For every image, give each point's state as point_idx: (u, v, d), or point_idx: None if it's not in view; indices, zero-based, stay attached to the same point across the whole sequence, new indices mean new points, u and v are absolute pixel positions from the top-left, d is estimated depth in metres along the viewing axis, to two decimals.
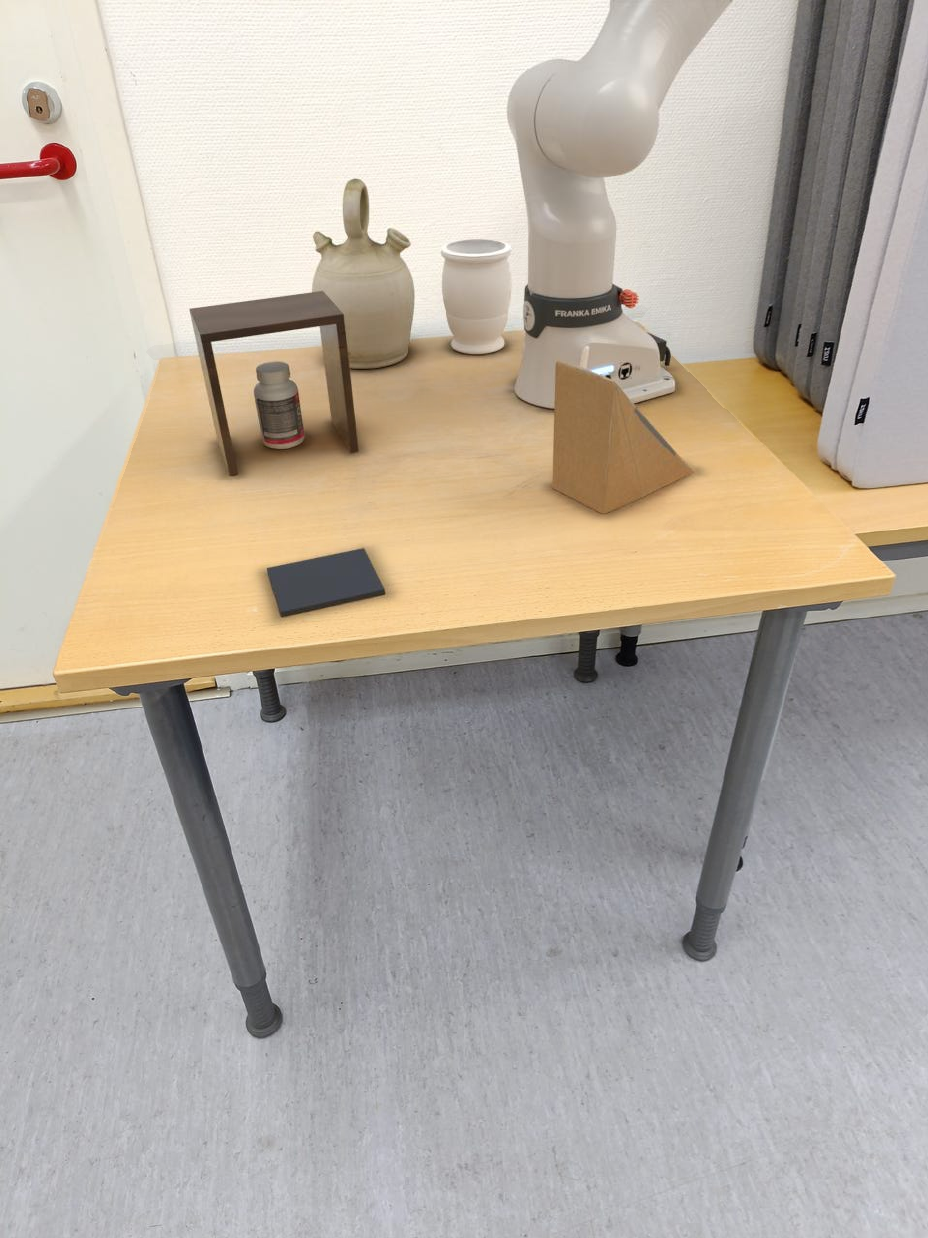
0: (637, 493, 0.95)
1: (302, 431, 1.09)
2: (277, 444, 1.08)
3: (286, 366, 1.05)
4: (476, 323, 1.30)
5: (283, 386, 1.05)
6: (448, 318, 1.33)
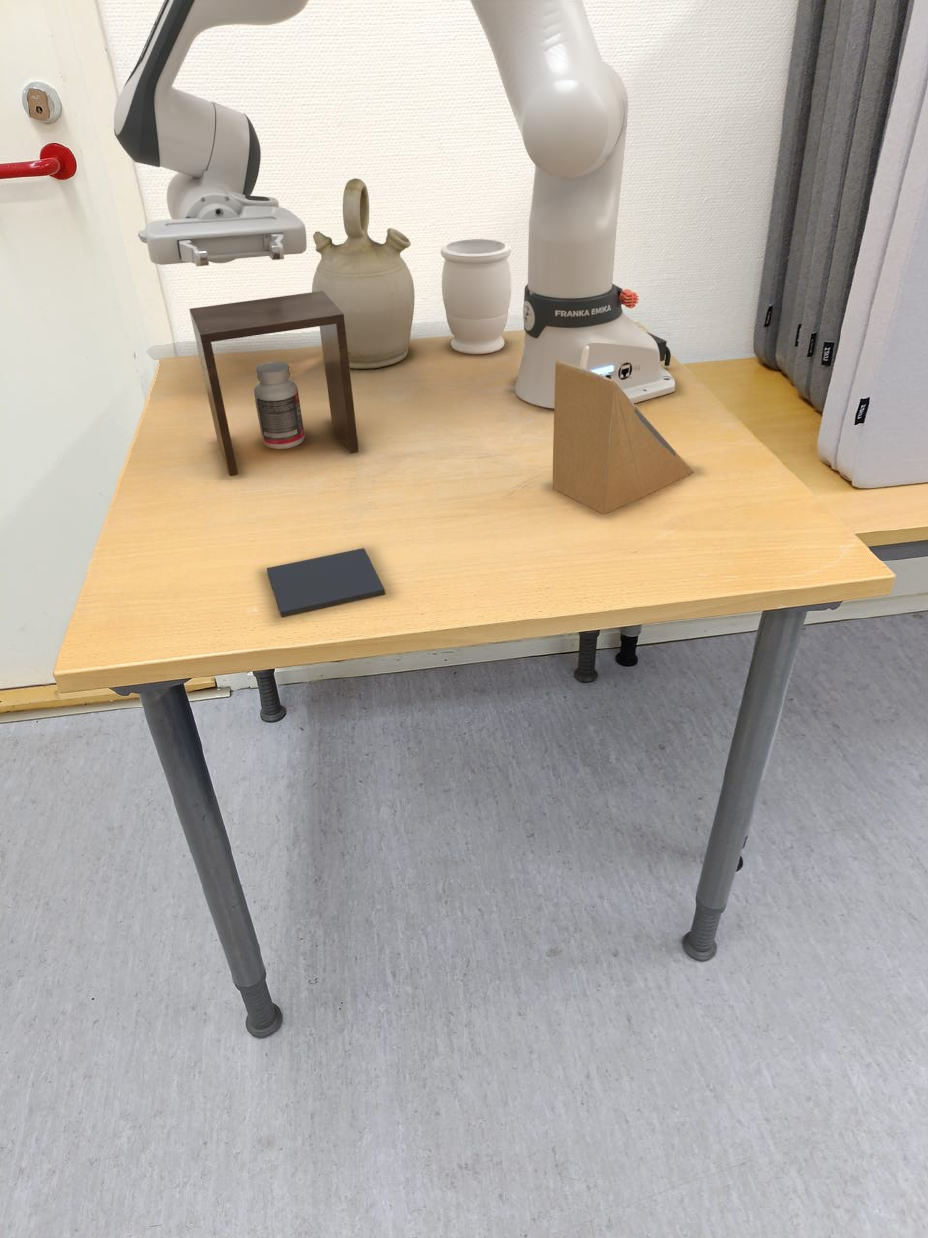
0: (637, 493, 0.95)
1: (302, 431, 1.09)
2: (277, 444, 1.08)
3: (286, 366, 1.05)
4: (476, 323, 1.30)
5: (283, 386, 1.05)
6: (448, 318, 1.33)
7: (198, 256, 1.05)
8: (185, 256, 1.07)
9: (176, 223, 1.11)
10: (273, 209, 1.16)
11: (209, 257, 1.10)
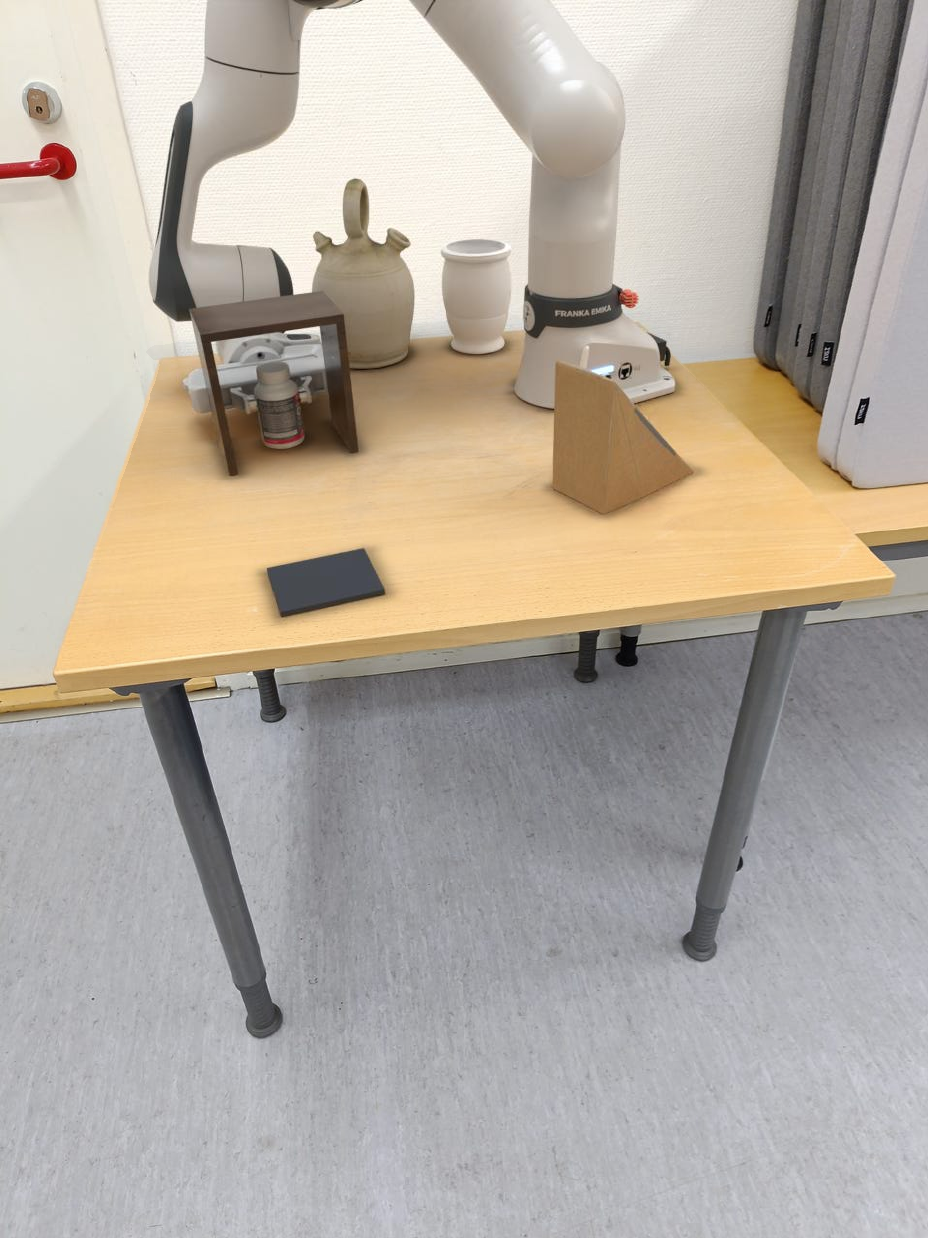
0: (637, 493, 0.95)
1: (302, 431, 1.09)
2: (277, 444, 1.08)
3: (286, 366, 1.05)
4: (476, 323, 1.30)
5: (283, 386, 1.05)
6: (448, 318, 1.33)
7: (247, 405, 1.05)
8: (236, 403, 1.08)
9: (218, 370, 1.12)
10: (314, 347, 1.15)
11: None
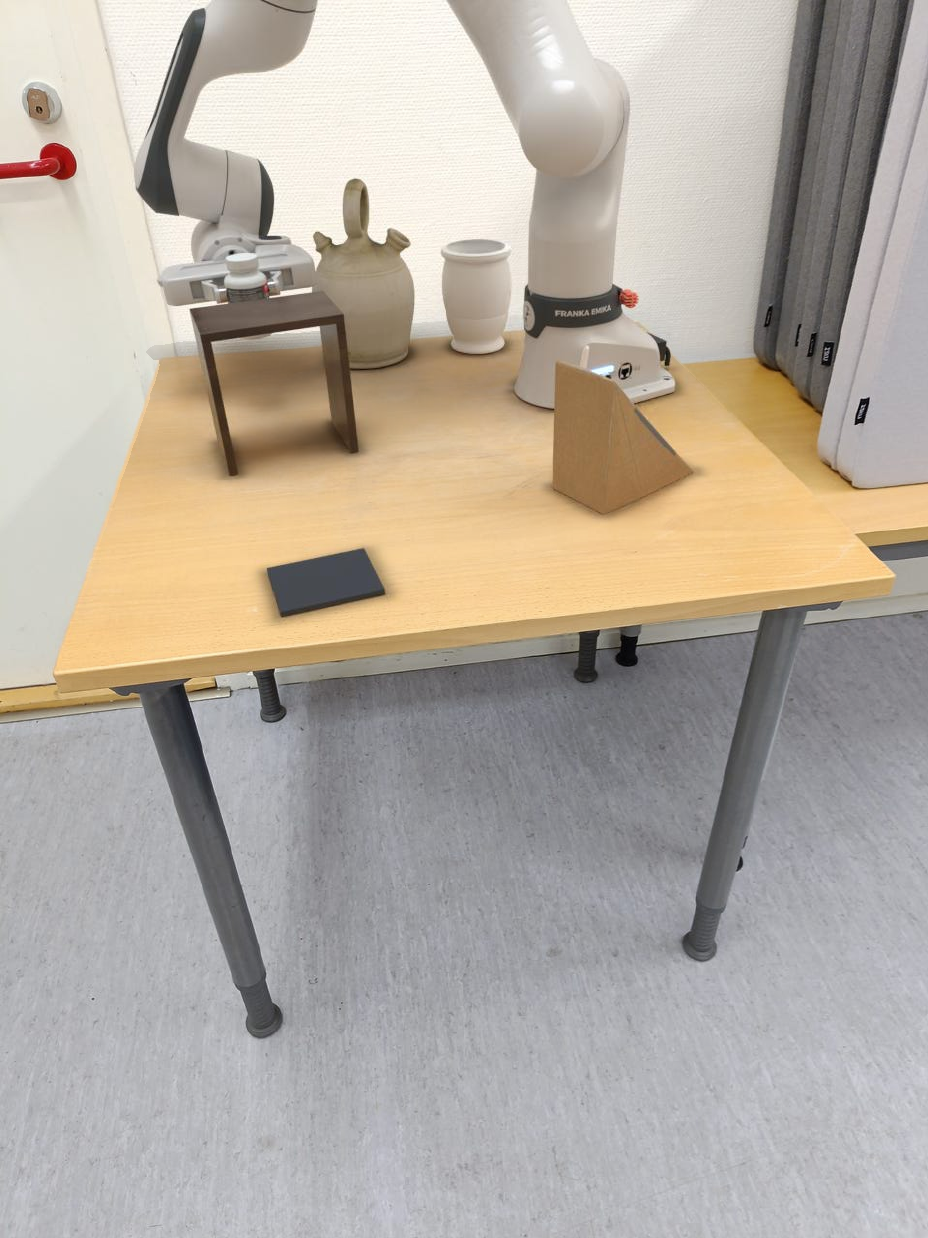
0: (637, 493, 0.95)
1: None
2: None
3: (255, 256, 1.09)
4: (476, 323, 1.30)
5: (252, 275, 1.09)
6: (448, 318, 1.33)
7: (218, 294, 1.09)
8: (207, 295, 1.12)
9: (191, 266, 1.16)
10: (285, 247, 1.19)
11: None
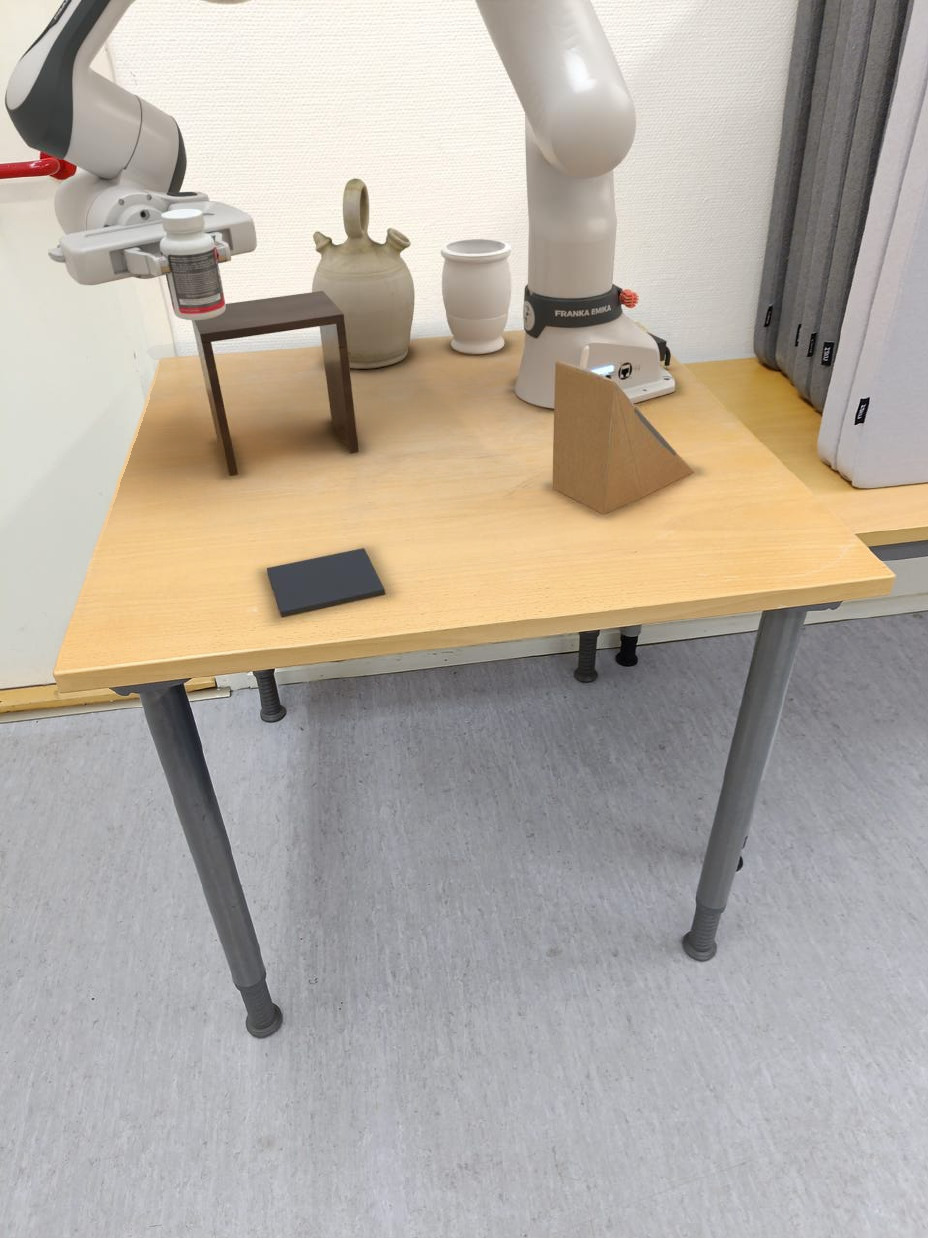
0: (637, 493, 0.95)
1: None
2: (199, 313, 0.88)
3: (200, 211, 0.85)
4: (476, 323, 1.30)
5: (200, 236, 0.85)
6: (448, 318, 1.33)
7: (158, 263, 0.85)
8: (137, 267, 0.86)
9: (96, 233, 0.89)
10: (206, 204, 0.96)
11: None
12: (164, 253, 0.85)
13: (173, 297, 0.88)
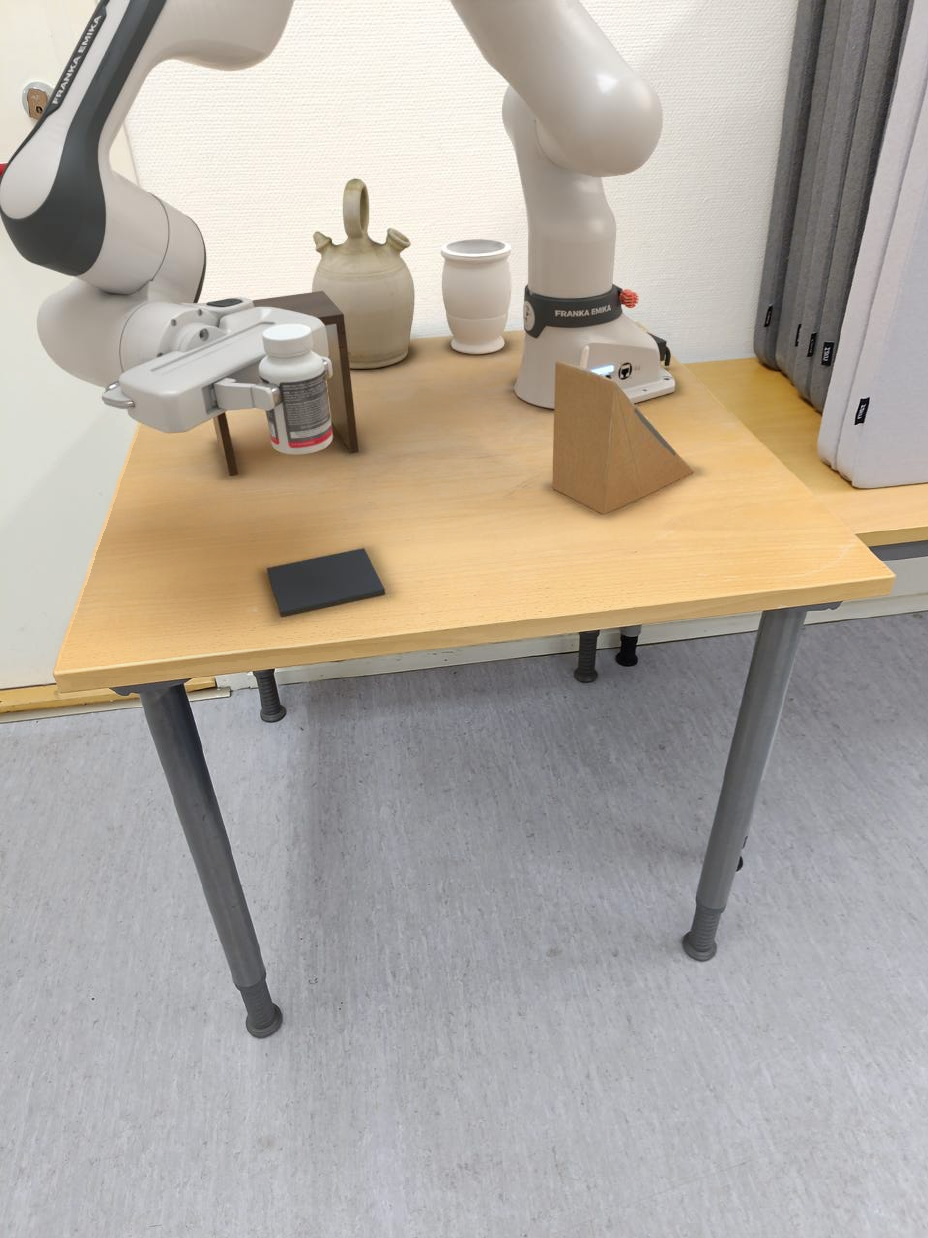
0: (637, 493, 0.95)
1: None
2: (313, 445, 0.73)
3: (306, 326, 0.70)
4: (476, 323, 1.30)
5: (311, 355, 0.71)
6: (448, 318, 1.33)
7: (271, 395, 0.69)
8: (236, 402, 0.70)
9: (161, 366, 0.71)
10: (258, 312, 0.80)
11: None
12: (273, 381, 0.70)
13: (280, 431, 0.72)
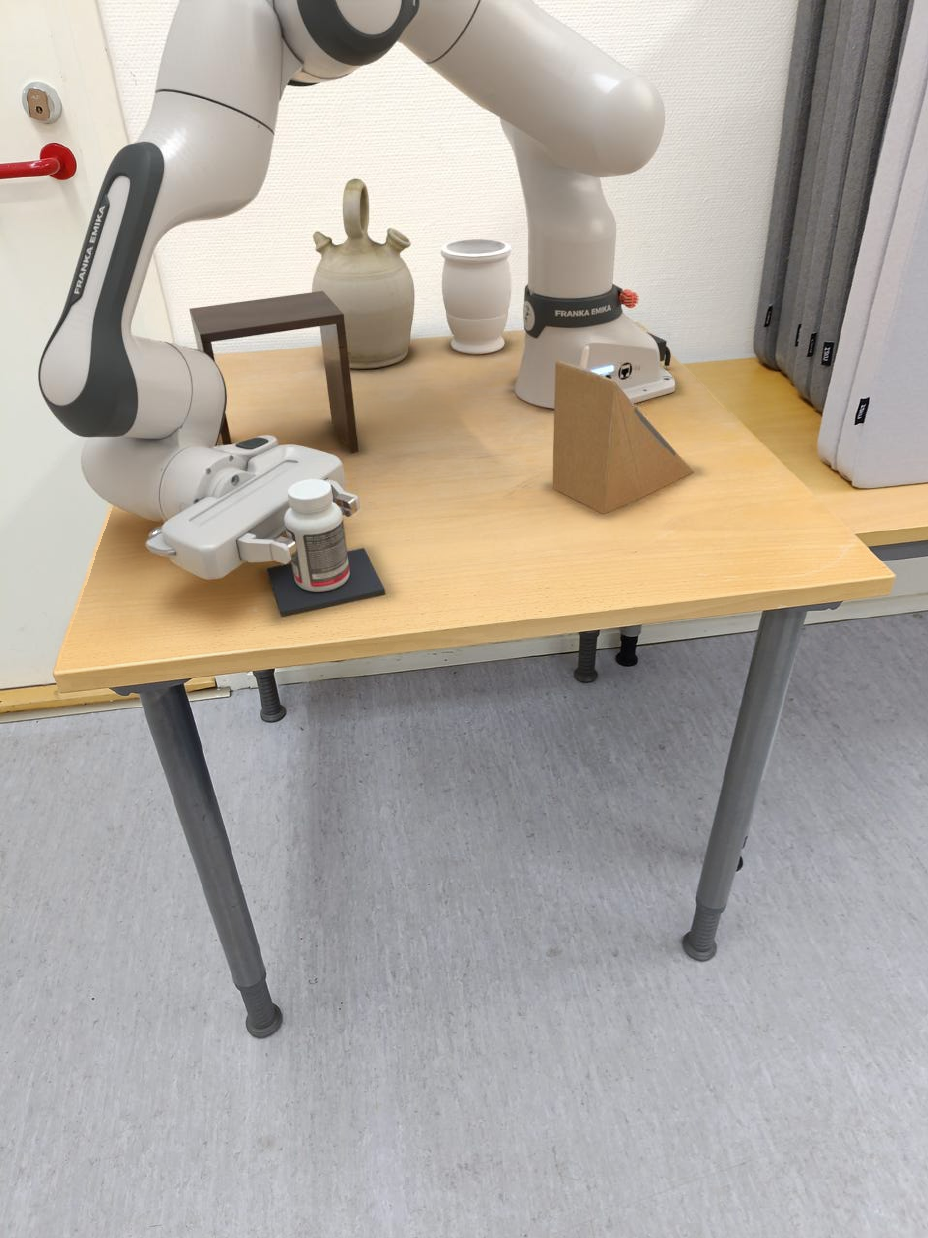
0: (637, 493, 0.95)
1: None
2: (333, 584, 0.82)
3: (326, 482, 0.79)
4: (476, 323, 1.30)
5: (331, 508, 0.79)
6: (448, 318, 1.33)
7: (288, 551, 0.76)
8: (257, 556, 0.77)
9: (198, 515, 0.80)
10: (282, 450, 0.88)
11: None
12: (297, 533, 0.78)
13: (303, 573, 0.81)
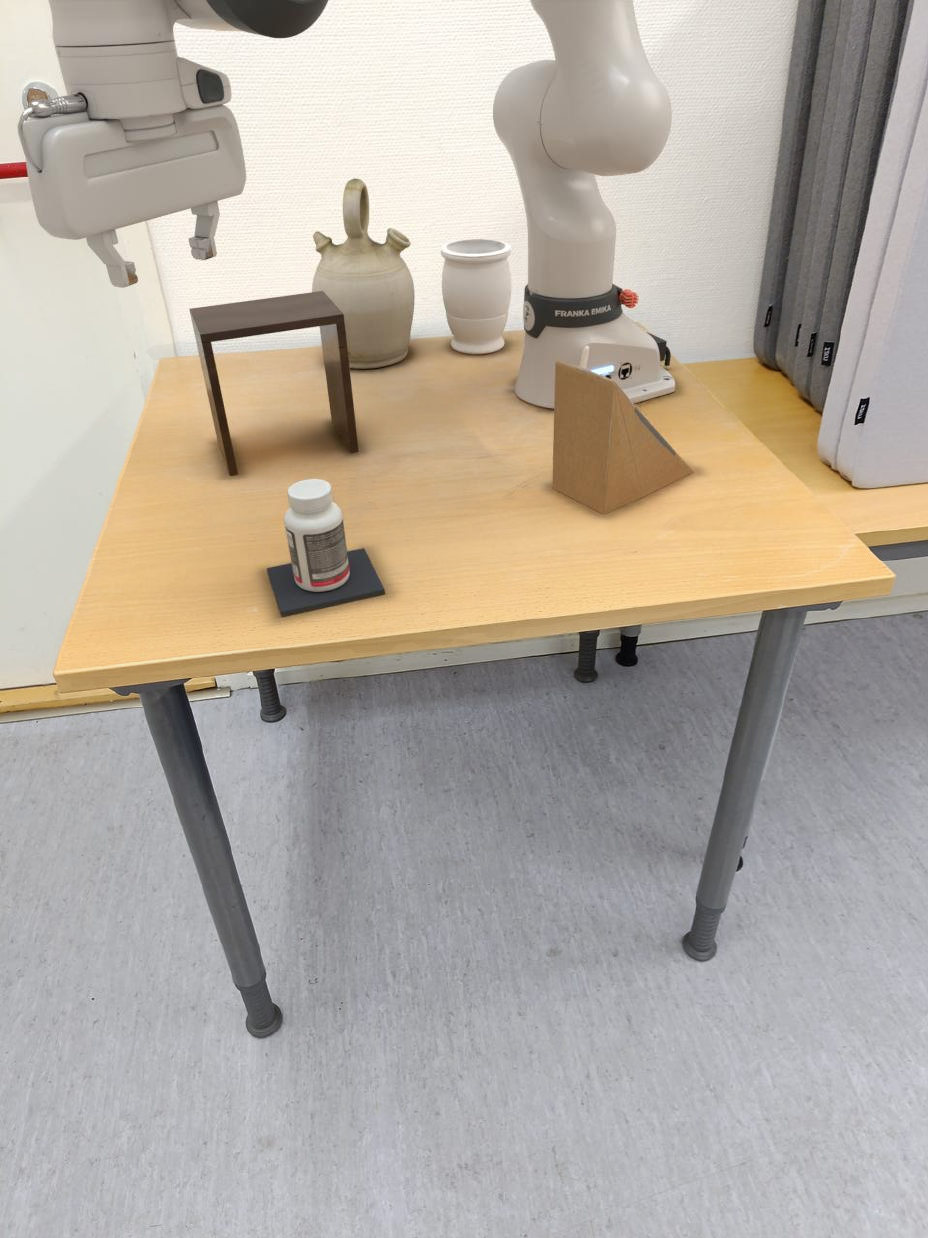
0: (637, 493, 0.95)
1: None
2: (333, 584, 0.82)
3: (326, 482, 0.79)
4: (476, 323, 1.30)
5: (331, 508, 0.79)
6: (448, 318, 1.33)
7: None
8: (98, 252, 0.70)
9: (95, 153, 0.65)
10: (220, 119, 0.73)
11: None
12: (297, 533, 0.78)
13: (303, 573, 0.81)
